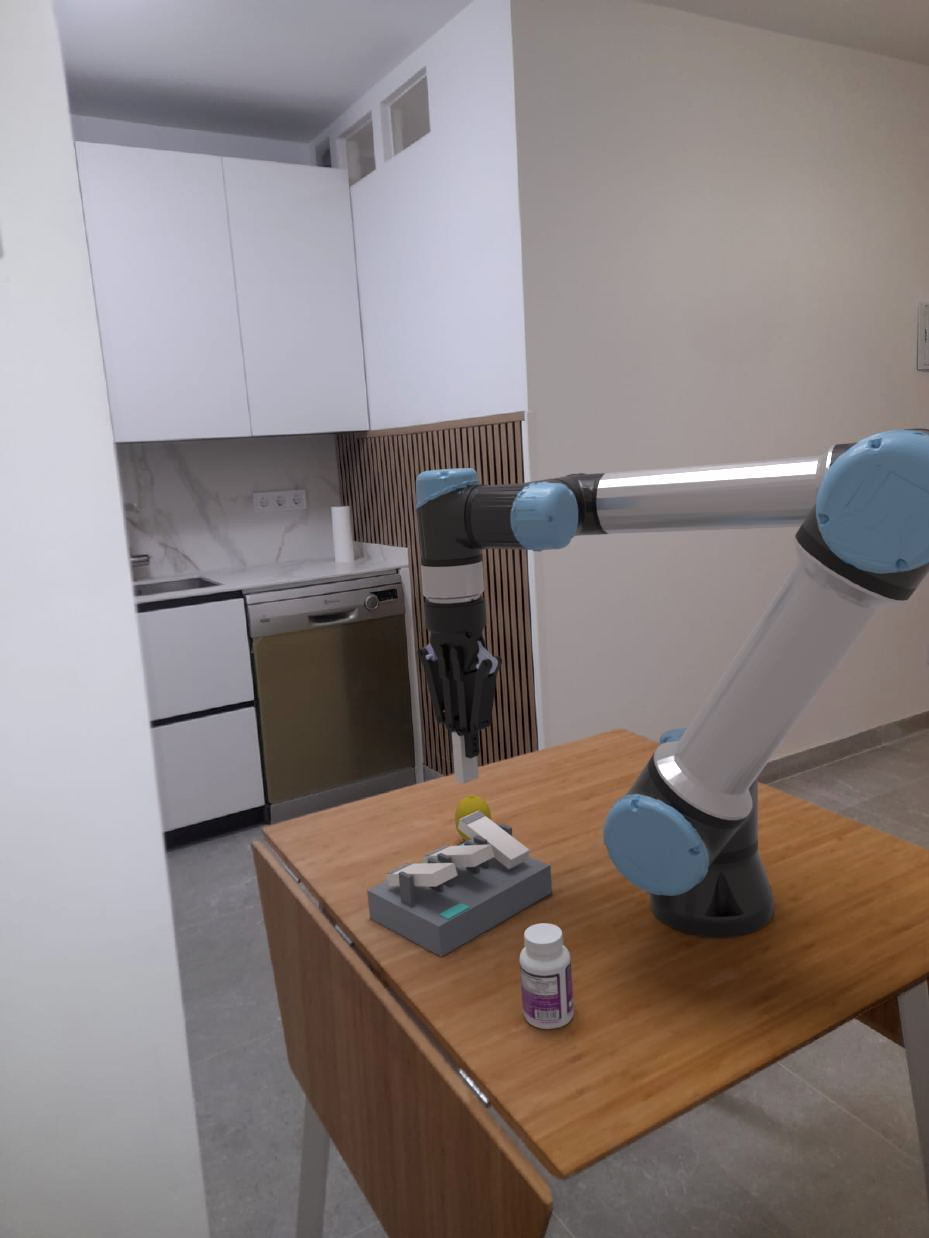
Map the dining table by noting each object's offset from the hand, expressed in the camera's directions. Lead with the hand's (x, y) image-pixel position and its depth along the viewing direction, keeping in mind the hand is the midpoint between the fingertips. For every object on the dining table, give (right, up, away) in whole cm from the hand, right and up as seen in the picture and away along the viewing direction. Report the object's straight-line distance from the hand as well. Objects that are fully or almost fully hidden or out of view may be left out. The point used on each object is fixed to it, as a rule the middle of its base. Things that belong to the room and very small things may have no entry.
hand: (466, 779), depth 115 cm
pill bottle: (+9, -22, -19) cm, 30 cm away
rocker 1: (-6, -12, -1) cm, 13 cm away
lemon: (+1, -14, +23) cm, 27 cm away
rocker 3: (+4, -10, +8) cm, 13 cm away
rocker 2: (-1, -11, +3) cm, 11 cm away
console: (-1, -18, +5) cm, 18 cm away
